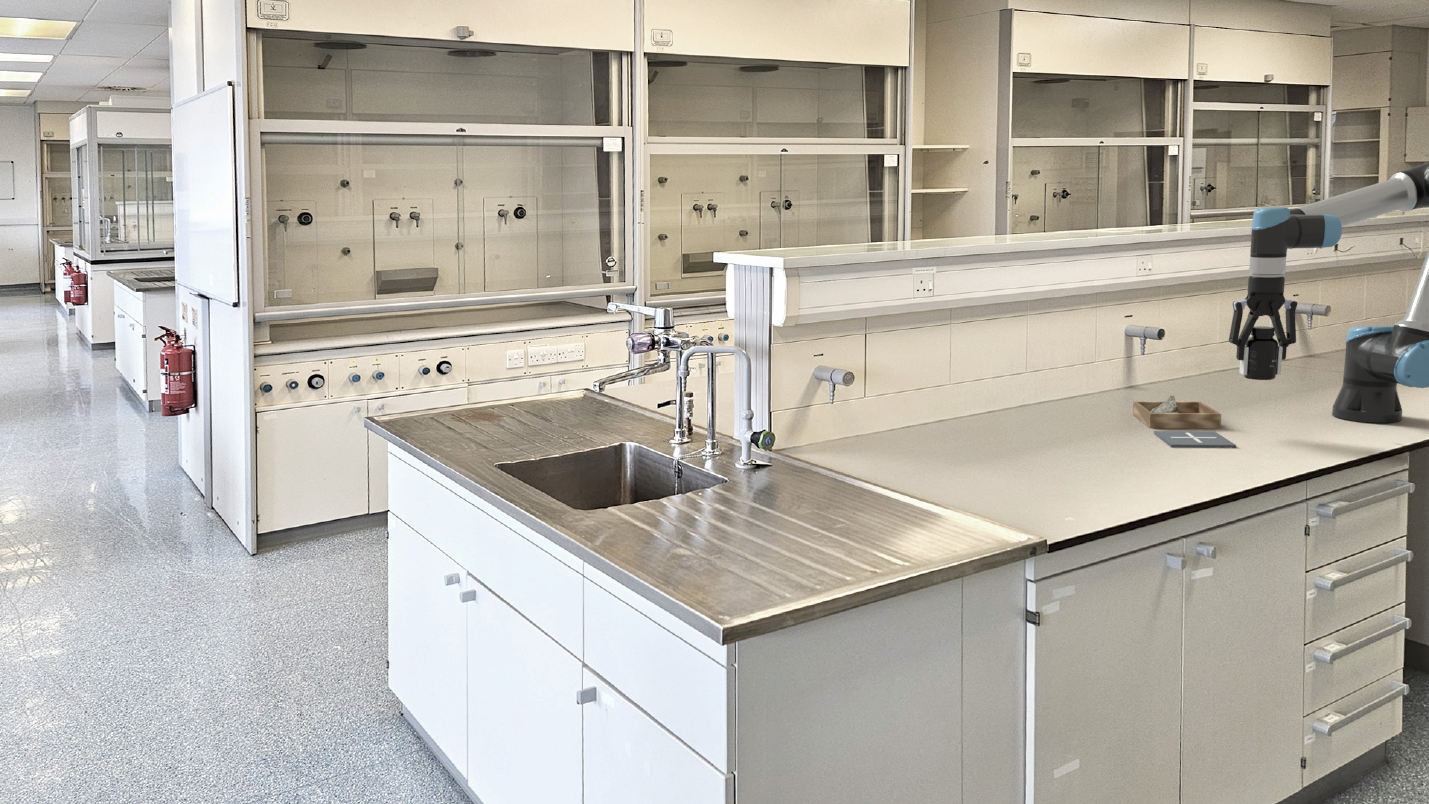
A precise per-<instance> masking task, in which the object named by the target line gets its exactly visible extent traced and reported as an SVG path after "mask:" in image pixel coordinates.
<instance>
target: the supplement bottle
mask: <svg viewBox="0 0 1429 804" xmlns="http://www.w3.org/2000/svg"><path fill="white" fill-rule="evenodd" d="M1250 336H1251V337H1249V338H1248V341H1247V343H1246V345H1245V346H1247V347H1249V351H1248V366H1247V375H1243V377H1244V378H1245V379H1248V380H1257V381H1272V380H1274V379H1276V377H1277V374H1276V368H1277V355H1278V345H1279V343H1278V340H1277V339H1275V338H1274V336H1276V334H1275V328H1273V326H1254V327H1253V329H1252V332H1251V334H1250Z"/></svg>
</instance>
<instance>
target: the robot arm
mask: <svg viewBox="0 0 1429 804" xmlns="http://www.w3.org/2000/svg"><path fill="white" fill-rule="evenodd" d="M1425 208H1426V209H1428V208H1429V161H1428V162H1425V163H1423V164H1420V165H1417V166H1414V167H1411V168H1408V169H1405V170H1402V171H1398V172H1396V173H1394V174H1392V175H1391V177H1390V178H1389V179H1387V180H1383V181H1381V182H1377V183H1374V184H1371V185H1367V186H1364V187H1361V188H1358V189H1354V190H1352V191H1348V192H1345V193H1342V194H1338V195H1335V196H1334V195H1333V196H1331V197H1329V198H1325V199H1323V200H1319V201H1315V202H1311V203H1309V204H1306V205H1302V206H1299V207H1296V208H1294V209H1289V208H1288V207H1284V206H1283V207H1280V206H1279V207H1259V208H1256V209H1254V211H1253V216H1252V222H1251V227H1250V229H1251V236H1250V252H1249V254H1250V255H1249V269H1248V274H1250V275H1251V276H1250V275H1249V276H1248V280H1247V281H1248V283H1247V294H1246V295H1247V296H1246V297H1245V299H1243V300H1239V301H1237V300H1234V301H1232V308H1233V315H1232V320H1231V326H1230V330H1229V331H1230V333H1229V335H1228V336H1229V338H1228V343H1230V344H1232V345H1235V346H1236V360H1238V361H1239V371H1238V373H1239V374H1240V375H1243V376H1244V375H1247V366H1248V351H1249V347H1247V346H1246V343H1247V341H1248V339H1250V336H1251V332H1252V329H1253V327H1255V324H1256V323H1257V321H1258V320H1259V318H1260V317H1264V316H1267V317H1269V319H1270V320H1271V323H1272V324H1271V325H1272V327H1273V328H1275V331H1274V334H1275V337H1276V341H1277V342H1278V355H1277V368H1276V376H1277V375H1282V361H1285V360H1286V358H1287V350H1288V349H1287V348H1288V347H1289V346H1290V345H1292V344H1296V343H1297V330H1296V329H1297V327H1296V323H1297V322H1296V310H1297V307H1298V302H1297V301H1296V300H1292V299H1286V298H1285V296H1284V292H1285V285H1286V284H1285V281H1286V278H1285V277H1284V276H1283V275H1285V274H1286V270H1287V269H1286V267H1287V256H1288V255H1287V254H1288V253H1287V252H1288V249H1289V250H1291V249H1292V250H1293V249H1324V248H1332V247H1334V246H1336V245H1337V244H1338V243H1339V242H1340V240H1341V238H1342V234H1343V227H1345V226H1349V225H1351V224H1355V223H1359V222H1361V221H1365V220H1369V219H1372V218H1375V217H1378V216H1382V215H1385V214H1389V213H1392V212H1394V211H1398V210H1399V211H1401V212H1409V211H1413V210H1417V209H1425ZM1246 306H1247V307H1248V309H1249V312H1248V314H1247V319H1246V320H1245V323H1244V325H1243V327H1242V330H1241V325H1242V321H1243V315H1244V310H1245V308H1246ZM1282 307H1283V308H1284V309H1285V330H1284V327H1283V323H1282V319H1281V314H1280V312H1279V311H1280V309H1282ZM1240 330H1241V331H1240ZM1344 356H1345V357H1344V367H1343V377H1342V384H1341V385H1342V386H1341V387H1340V389H1339V392H1338V394H1337V396H1336V398H1335V401H1334V402H1333V404H1332V411H1331V414H1332V416H1334V417H1335V418H1338V419H1342V420H1346V421H1347V420H1348V421H1352V422H1353V421H1354V422H1361V423H1375V424H1376V423H1378V424H1380V423H1381V424H1382V423H1383V424H1384V423H1385V424H1386V423H1396V422H1400V421H1402V419H1403V408H1402V404H1401V401H1400V396H1399V394H1398V389H1397V387H1398V385H1397V384H1399V385H1401V386H1404V387H1408V388H1417V389H1427V388H1429V247H1428V248H1427V251H1426V254H1425V257H1424V260H1423V263H1422V266H1421V269H1420V272H1419V274H1418V278H1417V281H1416V283H1415V287H1414V289H1413V293H1412V295H1411V298H1410V300H1409V304H1408V306H1407V309H1406V313H1405V315H1404V317H1403V319H1402V320H1398V321H1397V322H1395V323H1394V325H1380V326H1379V325H1378V326H1377V325H1376V326H1353V327H1351V328H1350V329H1349V330H1348V332H1347V337H1346V340H1345V355H1344Z"/></svg>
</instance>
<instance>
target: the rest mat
mask: <svg viewBox="0 0 1429 804" xmlns="http://www.w3.org/2000/svg"><path fill="white" fill-rule="evenodd" d="M1153 434H1154V435H1155V436H1156V437H1157V438H1159V439H1160V440H1162V442H1164V443H1165V444H1166V445H1168V446H1169V447H1170V448H1217V447H1223V448H1224V449H1225V447H1229V448H1230V447H1232V449H1234V448H1235V449H1236V448H1237V444H1236V443H1233V442H1232V441H1231V440H1229V439H1227V438H1226V437H1224V436H1223V435H1221V434H1220V433H1218V432H1217V431H1210V430H1209V431H1207V430H1206V431H1202V430H1199V431H1195V430H1194V431H1192V430H1191V431H1189V430H1186V431H1185V430H1184V431H1183V430H1176V431H1175V430H1168V431H1167V430H1160V431H1159V430H1154V431H1153ZM1223 448H1222V449H1223ZM1229 448H1228V449H1229Z"/></svg>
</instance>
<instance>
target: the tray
mask: <svg viewBox="0 0 1429 804" xmlns="http://www.w3.org/2000/svg"><path fill="white" fill-rule="evenodd" d="M1164 402H1165V401H1133V403H1132V416H1133V417H1135V418H1136V419H1137V420H1139V421H1140V423H1142V424H1144V425H1145V426H1147V427H1148V428H1149V429H1221V427H1222V426H1221V423H1222V422H1221V421H1222V414H1221V413H1220V412H1219V411H1216V409H1214V408H1212V407H1210V406H1209V405H1207V404H1205V403H1203V402H1202V401H1176V404H1177V407H1178V412H1179V413H1152V412H1150V411H1151V410H1152V409H1153V408H1155V407H1158V406H1159V405H1161V404H1162V403H1164Z"/></svg>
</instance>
